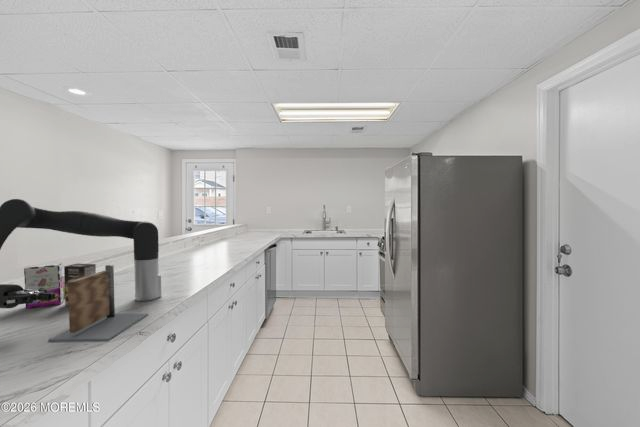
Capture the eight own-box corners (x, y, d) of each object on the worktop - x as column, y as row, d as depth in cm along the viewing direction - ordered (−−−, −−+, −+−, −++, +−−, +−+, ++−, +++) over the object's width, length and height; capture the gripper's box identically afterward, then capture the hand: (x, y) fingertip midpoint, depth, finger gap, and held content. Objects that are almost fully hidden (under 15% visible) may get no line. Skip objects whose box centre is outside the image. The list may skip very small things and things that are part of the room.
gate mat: (99, 315, 117) (99, 314, 117) (148, 315, 117) (148, 313, 117) (48, 341, 95) (48, 339, 95) (109, 340, 95) (109, 338, 95)
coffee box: (63, 305, 129) (62, 266, 129) (77, 300, 135) (76, 263, 135) (84, 306, 128) (83, 266, 128) (97, 301, 134) (96, 263, 134)
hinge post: (109, 317, 115) (108, 264, 114) (116, 317, 115) (114, 264, 114) (105, 319, 113) (103, 266, 112) (112, 319, 113) (110, 266, 112)
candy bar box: (64, 301, 135) (62, 262, 134) (60, 304, 130) (59, 264, 130) (29, 305, 130) (28, 265, 129) (25, 309, 125) (23, 267, 125)
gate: (104, 314, 112) (103, 270, 112) (110, 314, 112) (109, 270, 112) (68, 333, 96) (66, 282, 95) (75, 332, 96) (73, 282, 95)
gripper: (-23, 289, 96) (35, 290, 96) (18, 280, 109) (69, 280, 109) (-23, 314, 96) (35, 314, 96) (19, 301, 109) (69, 301, 109)
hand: (53, 296), depth 103 cm, fingers closed
